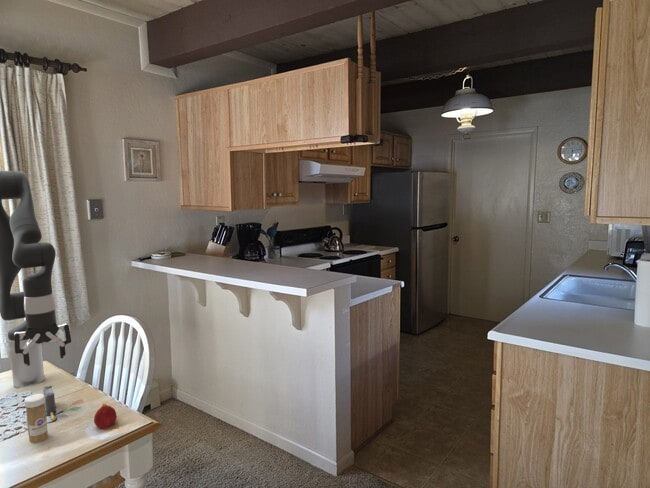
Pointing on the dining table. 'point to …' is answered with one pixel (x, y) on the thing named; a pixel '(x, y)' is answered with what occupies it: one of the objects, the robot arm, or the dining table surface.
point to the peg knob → (49, 401)
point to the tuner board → (69, 409)
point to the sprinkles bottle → (36, 418)
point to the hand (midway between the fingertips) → (45, 361)
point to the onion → (105, 417)
